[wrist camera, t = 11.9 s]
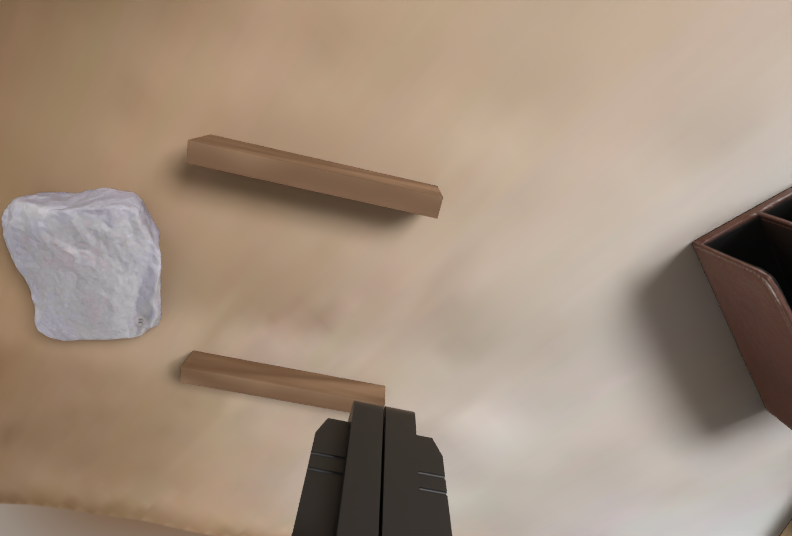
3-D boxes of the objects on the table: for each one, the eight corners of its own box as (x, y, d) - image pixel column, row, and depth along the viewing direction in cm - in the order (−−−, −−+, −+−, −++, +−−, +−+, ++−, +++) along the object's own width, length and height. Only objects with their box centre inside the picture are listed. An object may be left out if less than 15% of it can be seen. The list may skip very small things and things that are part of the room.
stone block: (159, 180, 36) (16, 189, 35) (141, 194, 32) (-23, 205, 30) (188, 312, 41) (64, 326, 39) (176, 340, 37) (36, 357, 35)
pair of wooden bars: (210, 134, 33) (188, 140, 30) (437, 186, 35) (442, 197, 31) (192, 365, 40) (171, 393, 36) (381, 399, 42) (380, 430, 38)
